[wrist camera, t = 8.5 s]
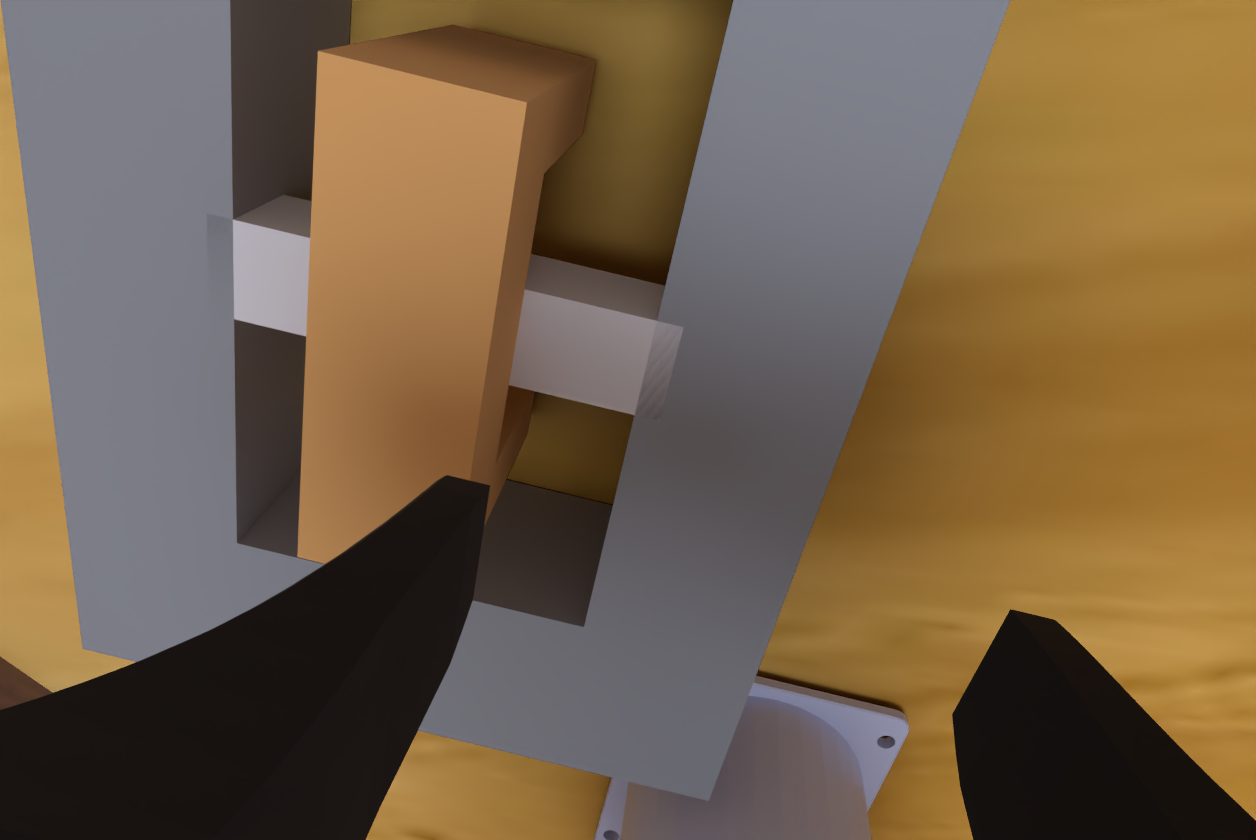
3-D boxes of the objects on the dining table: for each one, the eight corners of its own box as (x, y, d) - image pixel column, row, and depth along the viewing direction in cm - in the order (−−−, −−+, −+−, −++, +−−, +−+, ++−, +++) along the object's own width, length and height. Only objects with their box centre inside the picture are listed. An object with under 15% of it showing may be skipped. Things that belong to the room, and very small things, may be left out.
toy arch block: (527, 434, 22) (452, 595, 16) (411, 406, 22) (297, 556, 16) (595, 60, 18) (527, 102, 12) (453, 24, 18) (318, 50, 12)
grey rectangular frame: (714, 659, 26) (708, 801, 22) (194, 533, 26) (82, 648, 22) (1021, -238, 16) (1130, -318, 11) (154, -439, 16) (-75, -598, 11)
